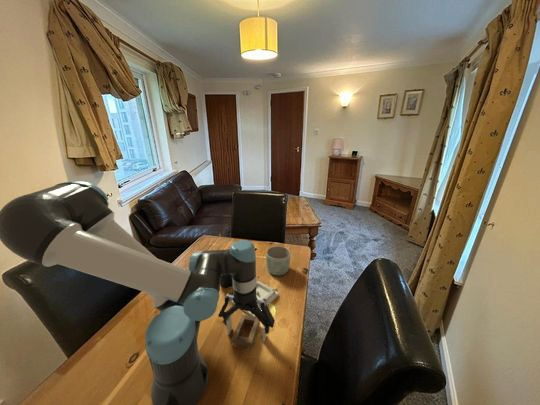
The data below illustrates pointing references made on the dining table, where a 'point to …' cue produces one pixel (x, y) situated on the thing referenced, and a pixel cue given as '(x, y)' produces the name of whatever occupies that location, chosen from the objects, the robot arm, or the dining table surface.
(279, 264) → the planter
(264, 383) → the dining table surface
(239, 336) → the frame
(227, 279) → the mug
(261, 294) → the white flat rectangular tray
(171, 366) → the robot arm
